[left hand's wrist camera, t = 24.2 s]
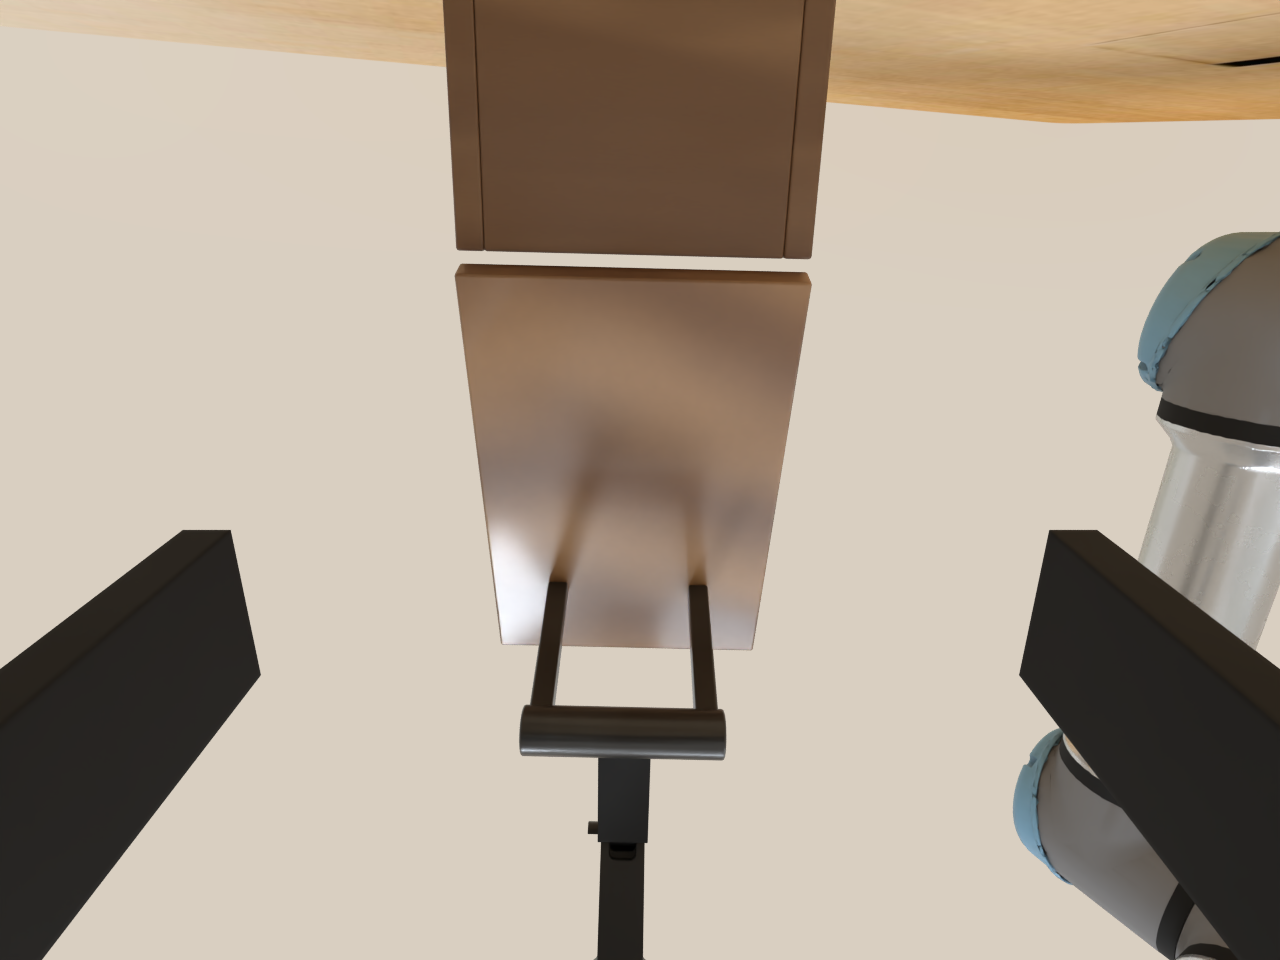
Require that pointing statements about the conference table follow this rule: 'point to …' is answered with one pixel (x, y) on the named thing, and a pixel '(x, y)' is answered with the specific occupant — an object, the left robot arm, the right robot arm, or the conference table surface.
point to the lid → (629, 474)
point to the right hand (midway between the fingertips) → (621, 840)
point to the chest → (637, 125)
